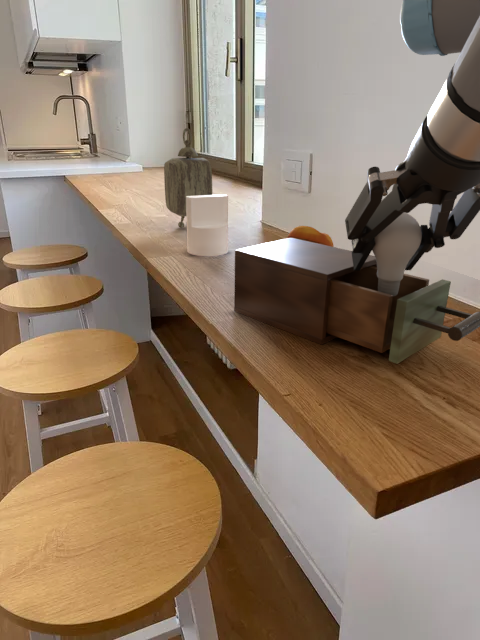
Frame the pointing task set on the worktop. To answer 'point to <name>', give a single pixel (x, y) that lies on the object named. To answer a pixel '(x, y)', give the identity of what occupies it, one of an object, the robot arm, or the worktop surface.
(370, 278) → the drawer
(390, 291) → the lightbulb
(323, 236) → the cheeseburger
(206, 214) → the base with upright slab
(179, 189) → the cowbell
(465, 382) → the worktop surface
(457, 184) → the robot arm
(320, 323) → the cabinet
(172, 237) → the worktop surface
